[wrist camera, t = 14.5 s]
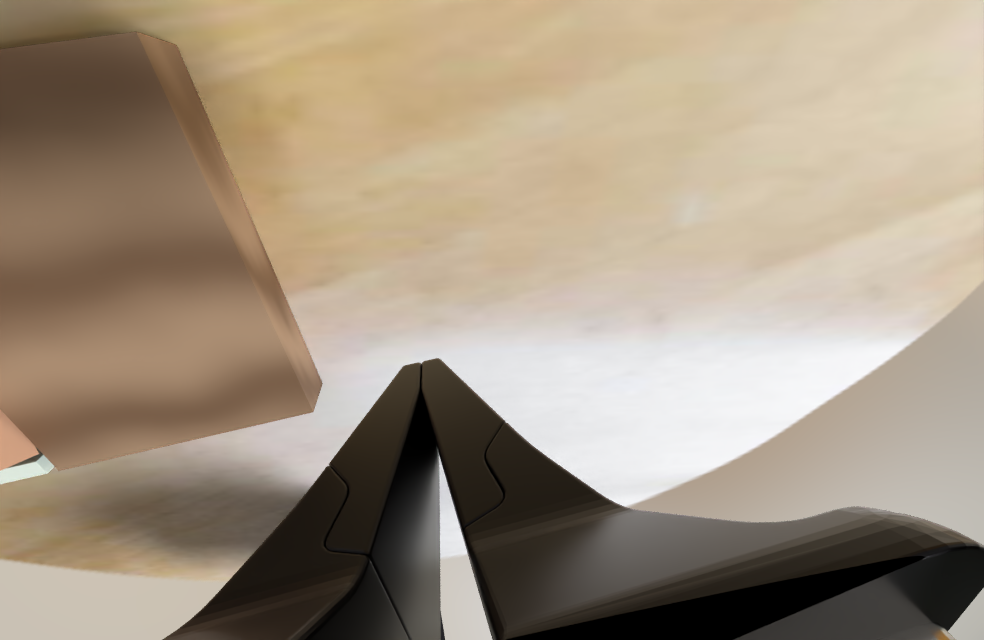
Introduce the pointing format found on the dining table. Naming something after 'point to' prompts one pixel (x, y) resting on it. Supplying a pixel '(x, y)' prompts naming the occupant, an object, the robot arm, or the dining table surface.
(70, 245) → the board
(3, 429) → the tile
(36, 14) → the dining table surface
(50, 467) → the tray
